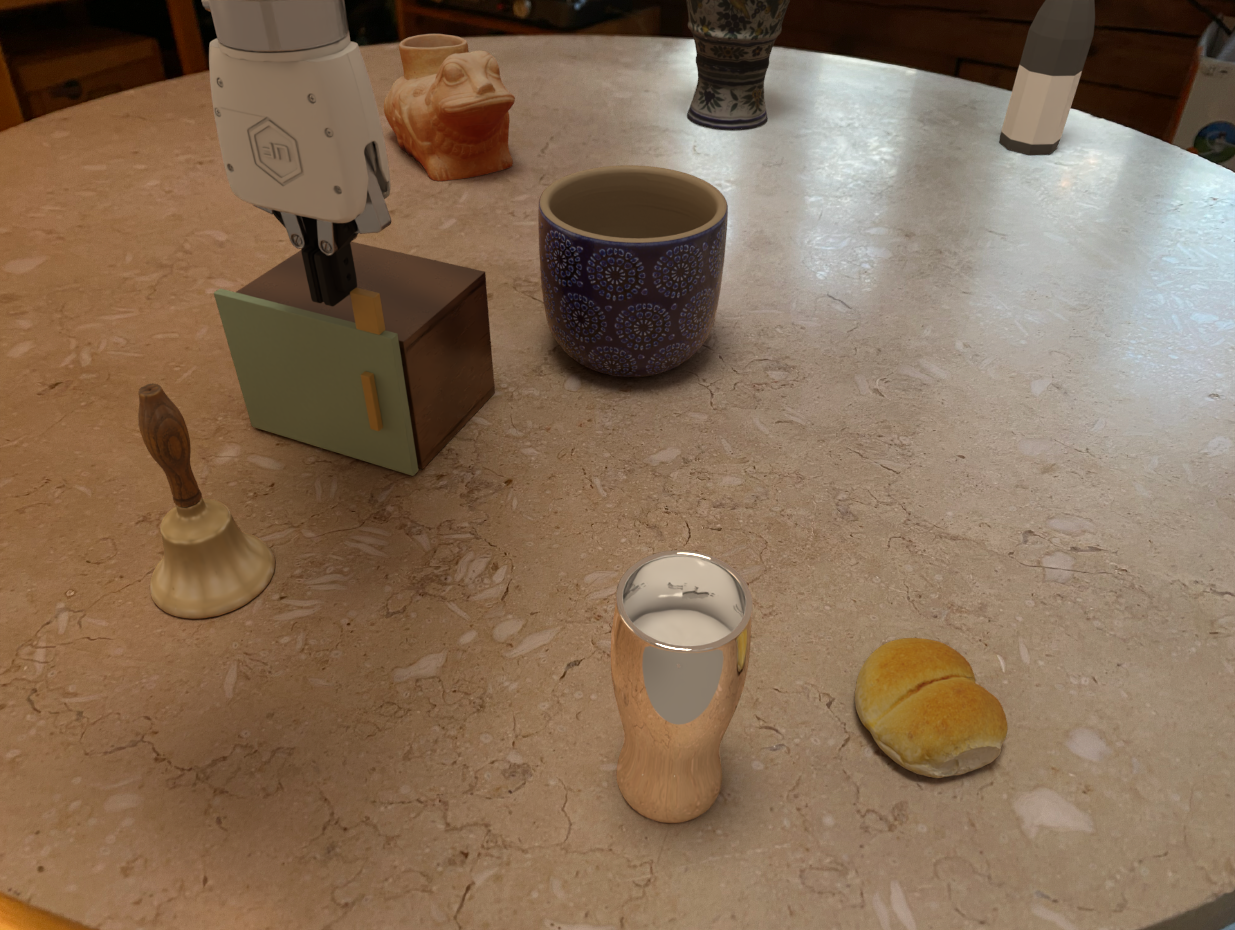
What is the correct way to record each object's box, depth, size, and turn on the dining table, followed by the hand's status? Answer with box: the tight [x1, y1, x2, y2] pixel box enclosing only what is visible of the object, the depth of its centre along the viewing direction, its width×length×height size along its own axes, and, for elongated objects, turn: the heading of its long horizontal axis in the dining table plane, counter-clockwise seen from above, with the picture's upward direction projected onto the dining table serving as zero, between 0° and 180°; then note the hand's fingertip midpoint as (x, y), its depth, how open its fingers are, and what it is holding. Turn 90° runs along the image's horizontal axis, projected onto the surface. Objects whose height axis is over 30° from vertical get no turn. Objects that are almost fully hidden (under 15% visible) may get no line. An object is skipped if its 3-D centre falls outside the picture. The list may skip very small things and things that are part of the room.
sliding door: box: [213, 288, 419, 477], centre depth 72 cm, size 1×16×16 cm, turn 67°
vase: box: [685, 0, 791, 131], centre depth 133 cm, size 17×17×30 cm
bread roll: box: [854, 637, 1008, 779], centre depth 56 cm, size 8×9×4 cm
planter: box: [537, 164, 729, 378], centre depth 86 cm, size 17×16×15 cm
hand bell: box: [137, 383, 276, 620], centre depth 61 cm, size 8×8×16 cm
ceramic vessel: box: [383, 33, 516, 182], centre depth 124 cm, size 14×26×15 cm, turn 30°
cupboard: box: [235, 241, 496, 470], centre depth 78 cm, size 12×16×12 cm
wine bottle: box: [998, 0, 1096, 156], centre depth 125 cm, size 8×8×30 cm
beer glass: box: [609, 549, 754, 824], centre depth 49 cm, size 7×7×15 cm
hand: (335, 295), depth 67 cm, fingers closed
